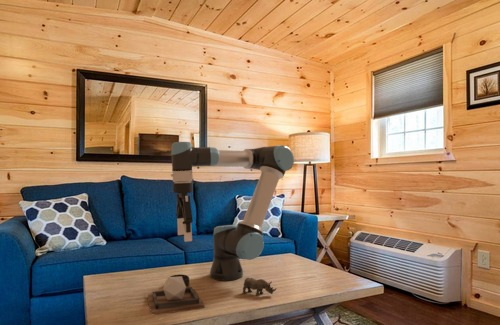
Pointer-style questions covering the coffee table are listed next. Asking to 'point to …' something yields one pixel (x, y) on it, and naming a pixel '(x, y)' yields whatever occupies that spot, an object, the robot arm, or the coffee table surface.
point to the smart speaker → (185, 278)
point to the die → (174, 288)
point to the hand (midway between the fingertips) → (184, 237)
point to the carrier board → (174, 302)
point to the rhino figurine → (257, 286)
